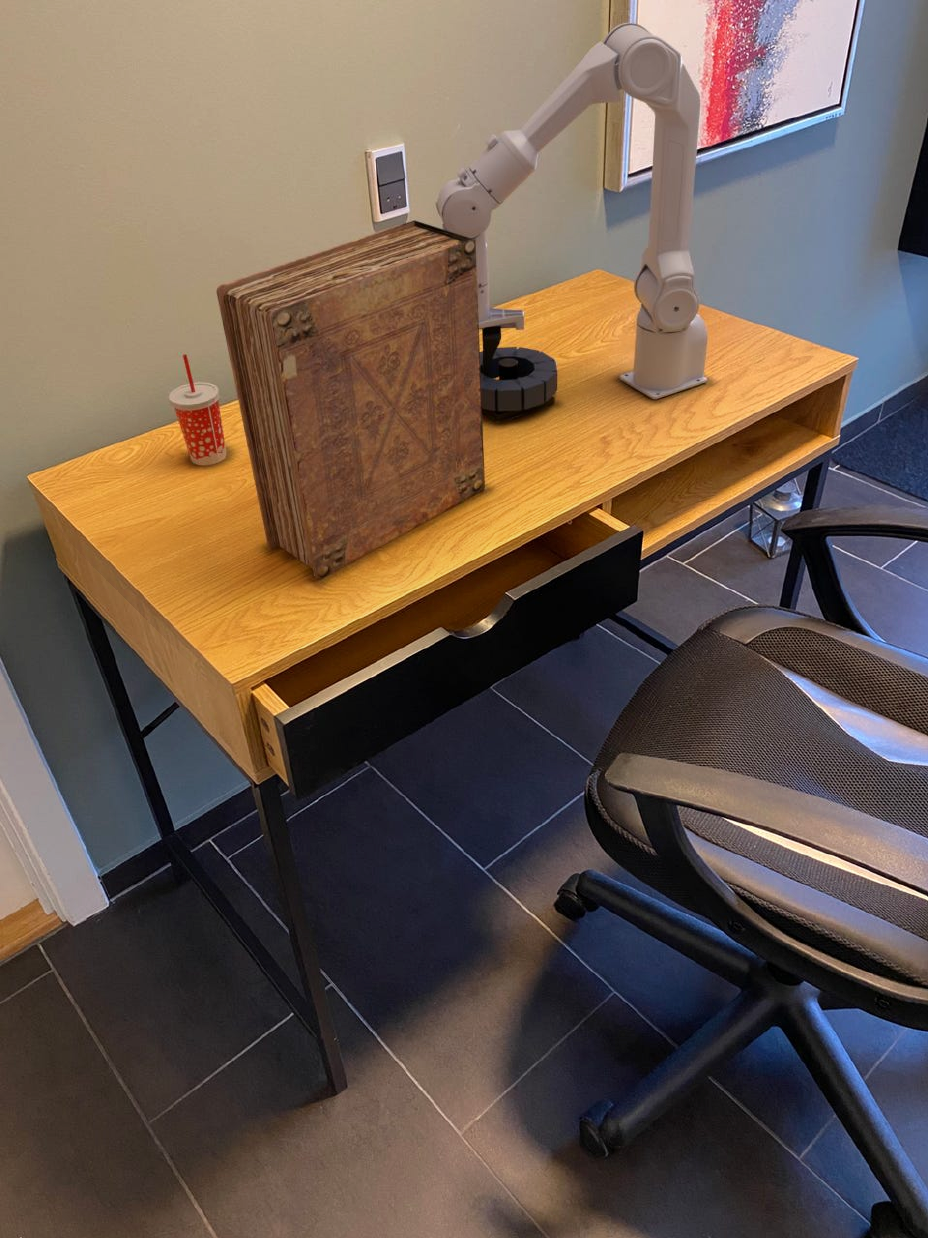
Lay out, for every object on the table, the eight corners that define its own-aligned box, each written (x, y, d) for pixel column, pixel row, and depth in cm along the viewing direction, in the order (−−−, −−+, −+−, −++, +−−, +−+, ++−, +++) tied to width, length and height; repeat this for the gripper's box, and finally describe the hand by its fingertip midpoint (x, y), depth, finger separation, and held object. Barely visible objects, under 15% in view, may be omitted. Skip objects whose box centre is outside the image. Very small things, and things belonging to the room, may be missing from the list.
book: (315, 582, 107) (267, 312, 88) (267, 547, 113) (212, 287, 94) (486, 489, 120) (476, 236, 101) (435, 462, 125) (417, 217, 106)
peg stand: (519, 380, 142) (518, 342, 138) (554, 404, 136) (554, 365, 132) (464, 397, 139) (462, 359, 135) (498, 422, 133) (497, 383, 129)
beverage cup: (215, 439, 133) (192, 340, 124) (242, 455, 129) (220, 353, 120) (176, 457, 130) (149, 356, 121) (202, 473, 126) (176, 371, 117)
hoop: (522, 358, 143) (522, 338, 141) (575, 393, 134) (576, 372, 132) (442, 383, 138) (440, 363, 136) (491, 420, 129) (490, 399, 127)
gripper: (408, 296, 124) (416, 396, 132) (524, 290, 123) (525, 391, 132) (410, 275, 129) (418, 372, 138) (522, 270, 129) (523, 368, 137)
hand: (470, 380), depth 135 cm, fingers closed on hoop, 3 cm apart
